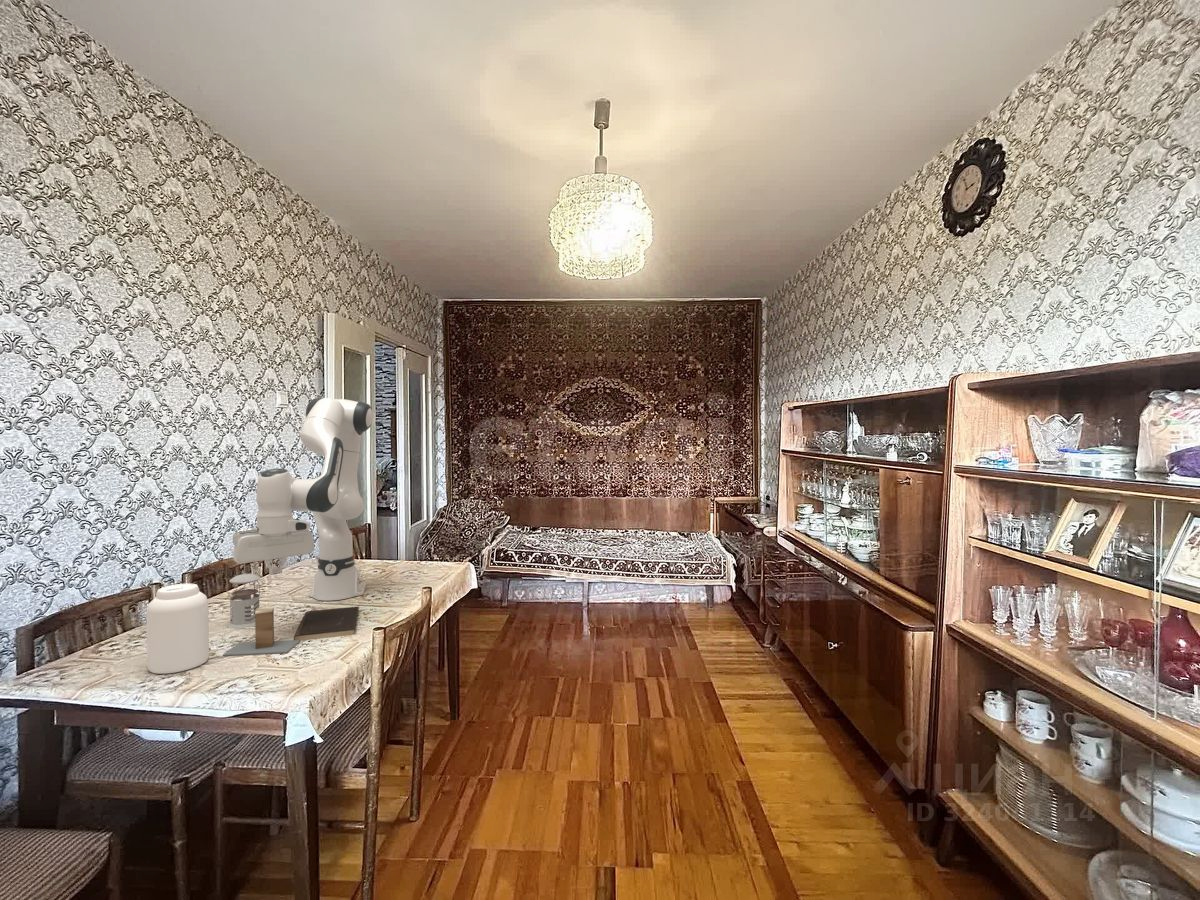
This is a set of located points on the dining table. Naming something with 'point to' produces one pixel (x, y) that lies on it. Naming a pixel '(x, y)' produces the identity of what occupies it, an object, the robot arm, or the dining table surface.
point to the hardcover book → (327, 623)
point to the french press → (244, 602)
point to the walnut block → (264, 627)
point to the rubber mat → (250, 648)
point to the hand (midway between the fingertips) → (275, 573)
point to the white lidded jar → (177, 629)
